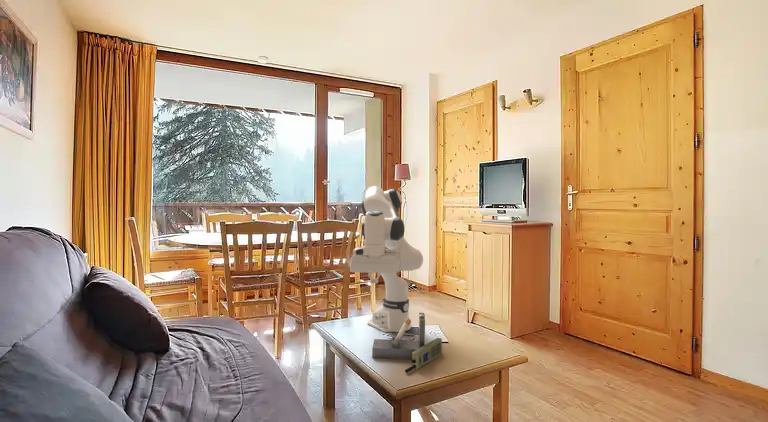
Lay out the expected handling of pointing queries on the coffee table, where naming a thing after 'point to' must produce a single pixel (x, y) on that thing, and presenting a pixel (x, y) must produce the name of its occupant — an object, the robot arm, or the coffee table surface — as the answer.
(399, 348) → the breaker box
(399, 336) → the lever
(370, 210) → the robot arm
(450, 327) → the coffee table surface
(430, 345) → the handheld radio
